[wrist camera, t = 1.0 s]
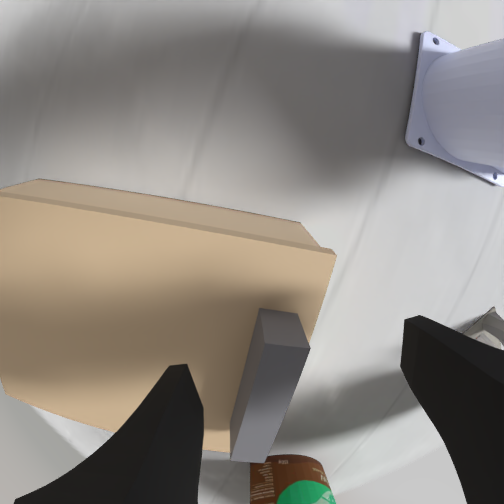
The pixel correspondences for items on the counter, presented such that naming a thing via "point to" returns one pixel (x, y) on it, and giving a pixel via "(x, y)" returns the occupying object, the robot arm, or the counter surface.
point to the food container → (289, 481)
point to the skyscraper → (488, 329)
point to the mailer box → (166, 209)
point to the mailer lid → (154, 316)
